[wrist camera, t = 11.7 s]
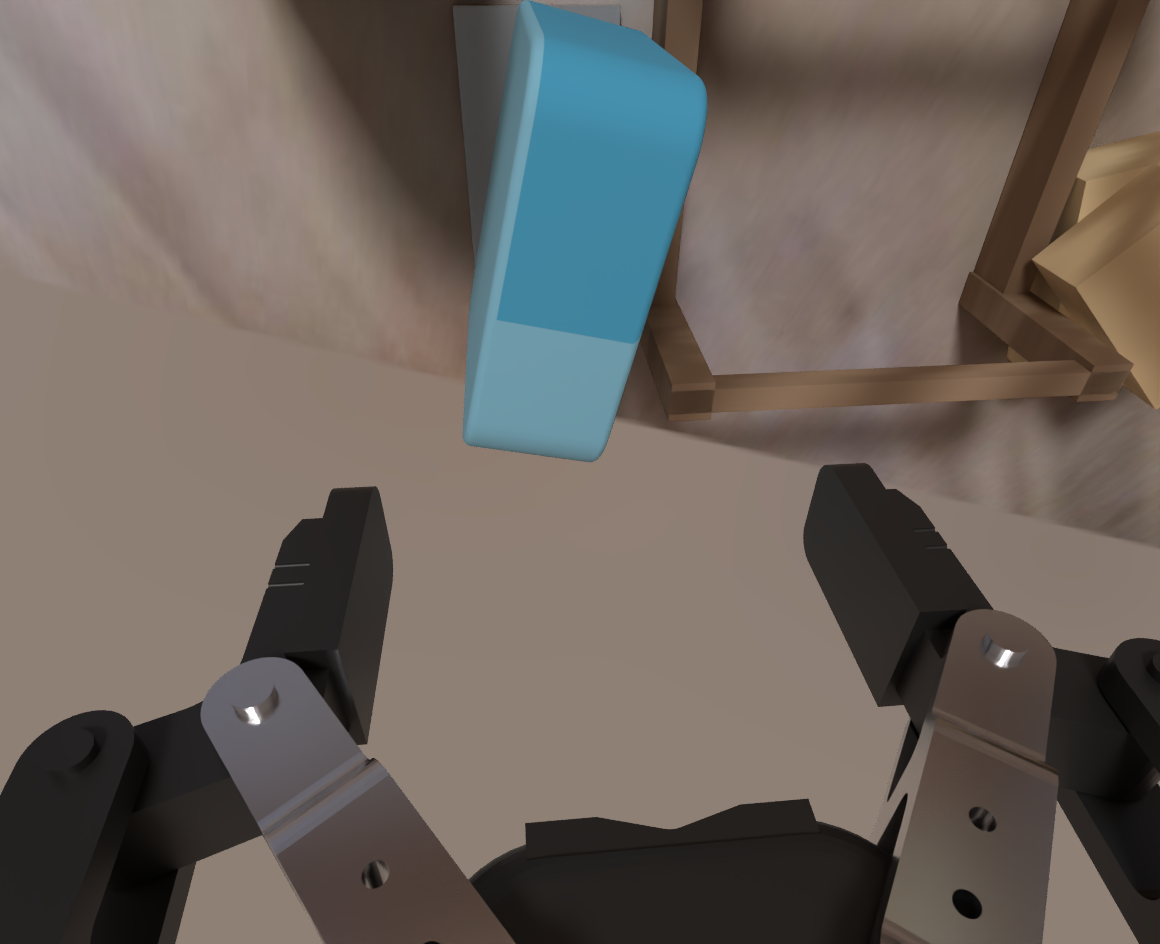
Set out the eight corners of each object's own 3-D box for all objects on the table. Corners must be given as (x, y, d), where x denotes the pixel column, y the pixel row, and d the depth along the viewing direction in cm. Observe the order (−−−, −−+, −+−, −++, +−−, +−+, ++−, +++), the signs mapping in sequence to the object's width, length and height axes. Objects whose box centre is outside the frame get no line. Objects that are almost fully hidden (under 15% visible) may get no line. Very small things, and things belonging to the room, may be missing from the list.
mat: (618, 5, 26) (620, 6, 26) (608, 310, 34) (609, 313, 33) (452, 5, 26) (452, 6, 25) (478, 314, 33) (478, 318, 33)
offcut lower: (1173, 123, 31) (1239, 143, 29) (1117, 326, 38) (1167, 358, 35) (1034, 158, 32) (1086, 181, 29) (1001, 353, 38) (1041, 387, 35)
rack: (1189, -220, 24) (1482, -276, 17) (989, 302, 35) (1114, 399, 28) (662, -235, 22) (741, -303, 15) (631, 315, 34) (668, 421, 27)
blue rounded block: (566, 322, 33) (596, 483, 24) (468, 304, 32) (460, 465, 23) (639, 27, 26) (722, 90, 17) (518, -7, 25) (535, 40, 16)
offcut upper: (1152, 163, 29) (1210, 185, 26) (1221, 300, 33) (1277, 330, 31) (1031, 259, 31) (1075, 287, 28) (1111, 376, 35) (1156, 409, 33)
